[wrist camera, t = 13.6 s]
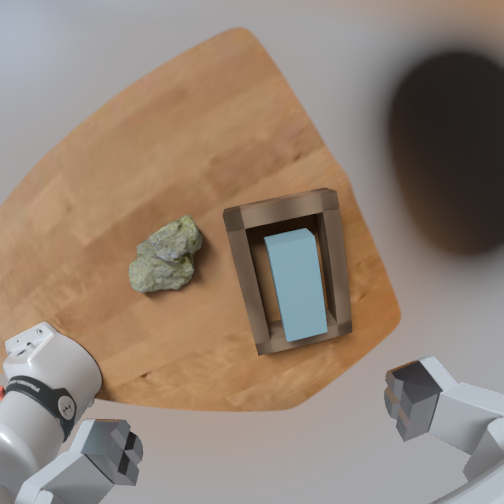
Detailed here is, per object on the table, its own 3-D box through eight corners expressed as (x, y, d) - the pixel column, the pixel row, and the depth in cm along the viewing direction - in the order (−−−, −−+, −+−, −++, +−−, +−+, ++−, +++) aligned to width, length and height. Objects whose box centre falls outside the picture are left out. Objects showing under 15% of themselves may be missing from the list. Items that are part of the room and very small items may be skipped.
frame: (256, 337, 43) (258, 355, 38) (224, 209, 37) (222, 215, 33) (342, 316, 43) (352, 332, 38) (325, 187, 37) (336, 191, 33)
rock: (139, 283, 41) (205, 292, 40) (117, 301, 35) (192, 313, 34) (136, 208, 38) (207, 211, 37) (111, 215, 32) (192, 219, 31)
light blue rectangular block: (264, 237, 35) (267, 246, 31) (306, 228, 35) (314, 236, 31) (282, 325, 38) (287, 342, 35) (319, 316, 38) (327, 331, 34)
